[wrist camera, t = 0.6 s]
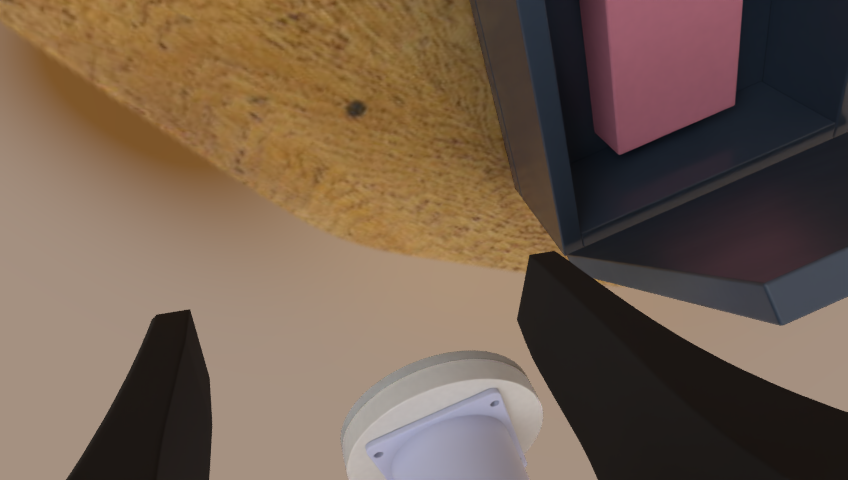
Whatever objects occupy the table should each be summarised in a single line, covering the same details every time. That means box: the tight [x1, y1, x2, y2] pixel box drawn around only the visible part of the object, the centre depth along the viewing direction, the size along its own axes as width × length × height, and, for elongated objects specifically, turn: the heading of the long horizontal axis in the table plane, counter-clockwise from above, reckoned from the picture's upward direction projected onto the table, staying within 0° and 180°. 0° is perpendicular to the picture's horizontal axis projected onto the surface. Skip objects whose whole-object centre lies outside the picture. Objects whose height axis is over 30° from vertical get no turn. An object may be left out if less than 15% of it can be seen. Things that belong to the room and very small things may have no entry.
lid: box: [567, 132, 848, 325], centre depth 16 cm, size 12×12×1 cm
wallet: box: [579, 0, 743, 155], centre depth 21 cm, size 8×5×2 cm, turn 17°
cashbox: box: [470, 0, 848, 256], centre depth 20 cm, size 12×12×5 cm
